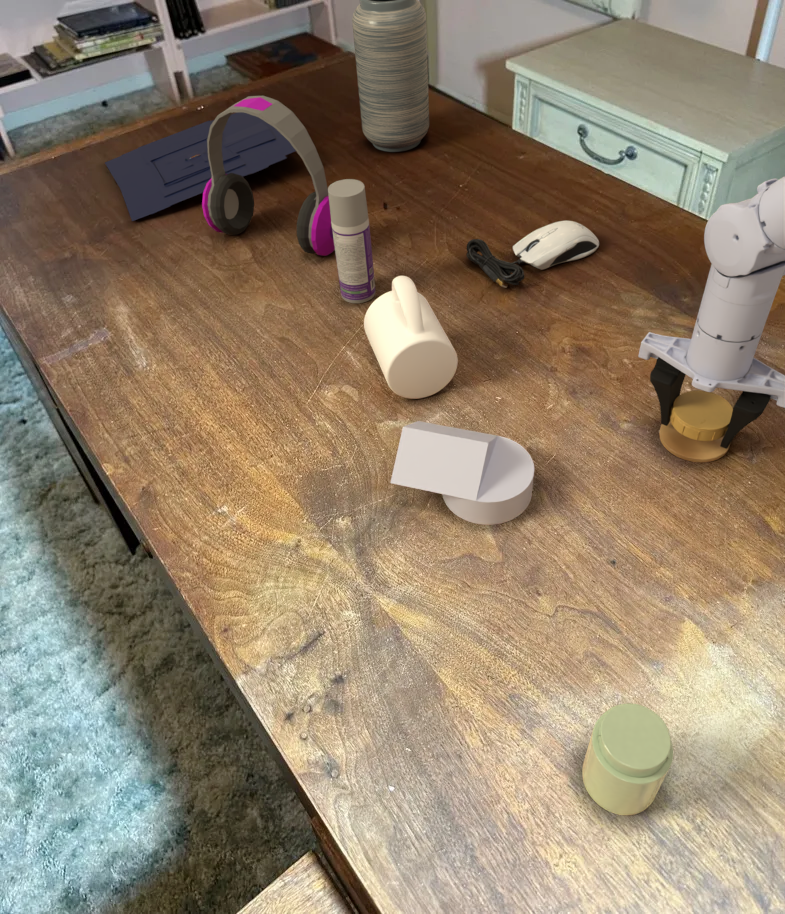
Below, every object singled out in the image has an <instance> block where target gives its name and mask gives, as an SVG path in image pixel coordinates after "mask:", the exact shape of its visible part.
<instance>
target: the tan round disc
mask: <svg viewBox="0 0 785 914" xmlns="http://www.w3.org/2000/svg"><path fill="white" fill-rule="evenodd" d="M658 432H659V434H658V435H659V440H660V442H661V445H662V446H663V447H664V448H665V450H667V452H669V453H670V454H671V455H674V457H677V458H679V459H681V460H684V461H687V462H690V463H691V462H692V463H710V462H714V461H717V460H719V459H720V458H722V457H723V456H725V455H726V454H727V452H728V451H729V449H730V445H731V444H730V445H729V447H728V448H727V449H726V448H723V447H720V445H721V441H722V439H723V437H724V436H723V437H722V438H720V439H717V440H713V441H699V440H694V439H691V438H688V437H686V436H684V435H682V434H681V433H679V432H678V431H677V430H676V429H675V428H674V427H673V425H672V423H671V421H670V422H669V424H668V425H667V426H666V425H663V424H661V425H660V428H659V431H658Z"/></svg>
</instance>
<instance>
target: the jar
mask: <svg viewBox="0 0 785 914" xmlns="http://www.w3.org/2000/svg"><path fill="white" fill-rule="evenodd" d="M673 761H674V745H673V741H672V737H671V733H670V730H669V728H668V726H667V724H666V722H665V721H664V720H663V718H662V717H661V716H660V715H659V714H658V713H656V712H655V711H654V710H652V709H651V708H649V707H647V706H645V705H641V704H639V703H632V702H625V703H619V704H617V705H614V706H611V707H610V708H608V709H607V710H606V711H605V712H604V713H603V714H601V715H600V716H599V717H598V719H597V720H596V722H595V724H594V726H593V728H592V731H591V735H590V738H589V743H588V746H587V749H586V752H585V756H584V759H583V762H582V767H581V768H582V769H581V775H582V781H583V785H584V788H585V789H586V791H587V793H588V795H589V796H590V798H591V799H592V801H594V802H595V804H596V805H598V806H599V807H600V808H602V809H603V810H606V811H607V812H609V813H612V814H614V815H618V816H634V815H638V814H640V813H642V812H644V811H645V810H647V809H648V808H649V807H650V806H651V805H652V804H653V802H654V800H655V798H656V797H657V794H658V793H659V790H660V789H661V786H662V785H663V783H664V780H665V778H666V776H667V774H668V772H669V770H670V768H671V766H672V764H673Z"/></svg>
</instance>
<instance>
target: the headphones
mask: <svg viewBox="0 0 785 914" xmlns="http://www.w3.org/2000/svg"><path fill="white" fill-rule="evenodd" d="M237 112H244V113H247V114H250V115H253V116H256V117H259V118H260V119H262V120H263V121H265V122H267V123H268V124H270V125H271V126H273V127H274V128H275V129H276V130H277V131H279V132H280V133H281V134H282V135H283V136H284V137H285V138H286V139H287V140H288V141H289V142H290V143H291V145H292V146H293V147H294V149H295V150H296V151H295V152H296V153H297V154H298V156H299V157H300V158H301V160H302V162H303V164H304V166H305V168H306V170H307V171H308V173H309V175H310V177H311V180H312V184H313V185H312V186H313V187H314V191H313V192H311V193H309V194H308V196H307V197H306V198H305V199H304V201H303V202H302V205H301V207H300V209H299V210H298V216H297V220H296V237H297V242H298V244H299V247H300V248H301V249H302V250H303V251H304V252H305V253H307V254H311V255H315V254H316V255H317V256H321V257H325V256H326V257H327V256H329V255H330V254H332V253H333V252H335V247H334V239H333V232H332V224H331V214H330V205H329V196H328V182H327V177H326V173H325V168H324V165H323V162H322V160H321V158H320V156H319V153H318V150H317V148H316V146H315V144H314V142H313V140H312V138H311V136H310V134H309V132H308V130H307V128H306V127H305V126H304V124H303V123H302V122H301V120H300V119H299V118H298V117H297V116H296V114H295V113H294V112H293V111H292V110H291V109H290V108H288V107H287V106H285V105H284V104H283V103H282V102H280V101H279V100H278V99H275V98H271V97H269V96H265V95H249V96H246V97H244V98H243V99H241V100H239V101H237V102H235V103H234V104H232V105H231V106H229V107H228V108H226V109H225V110H223V111H221V112H220V113H219V114H218V115H217V116H216V117H215V118H214V119H213V120H214V121H213V123H212V124H211V126H210V129H209V134H208V138H207V149H208V160H209V165H210V170H211V175H212V178H211V179H210V180H209V181H208V182H207V184H206V187H205V189H204V192H203V193H202V200H201V201H202V202H201V208H202V212H203V218H204V219H205V221H206V223H207V224H208V226H209V227H210V228H211V229H212V230H214V231H216V232H217V233H221V234H225V235H230V236H237V235H239V234H242V233H244V231H245V230H246V229H247V228H248V226H250V224H251V221H252V218H253V216H254V211H255V210H254V209H255V199H254V192H253V190H252V188H251V186H250V183H249V181H247V179H245V178H244V176H243V177H242V176H241V175H238V174H234V173H229V174H225V170H224V166H223V157H222V135H223V131H224V128H225V126H226V123H227V121H228V118H229V117H230V116H231V114H234V113H237Z"/></svg>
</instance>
